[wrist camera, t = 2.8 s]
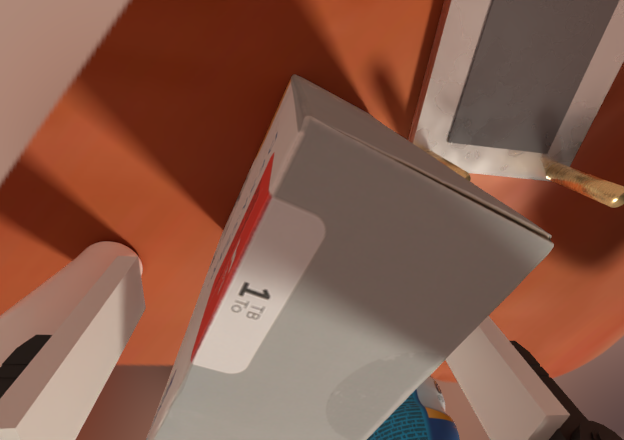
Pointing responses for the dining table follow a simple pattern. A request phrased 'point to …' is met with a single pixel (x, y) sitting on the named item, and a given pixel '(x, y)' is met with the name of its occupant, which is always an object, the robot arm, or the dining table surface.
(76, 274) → the drinking glass
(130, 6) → the dining table surface
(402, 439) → the beverage bottle
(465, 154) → the mounting plate
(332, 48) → the dining table surface
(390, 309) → the hard drive box
